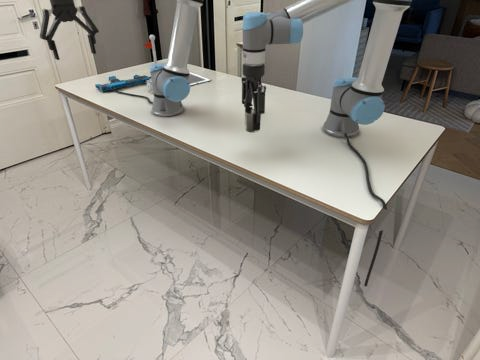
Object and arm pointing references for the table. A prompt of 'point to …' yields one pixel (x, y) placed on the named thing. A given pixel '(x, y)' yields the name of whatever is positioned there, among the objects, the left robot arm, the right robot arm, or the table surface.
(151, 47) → the flag stand
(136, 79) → the submachine gun
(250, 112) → the canister
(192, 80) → the tablet
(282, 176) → the table surface
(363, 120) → the right robot arm
